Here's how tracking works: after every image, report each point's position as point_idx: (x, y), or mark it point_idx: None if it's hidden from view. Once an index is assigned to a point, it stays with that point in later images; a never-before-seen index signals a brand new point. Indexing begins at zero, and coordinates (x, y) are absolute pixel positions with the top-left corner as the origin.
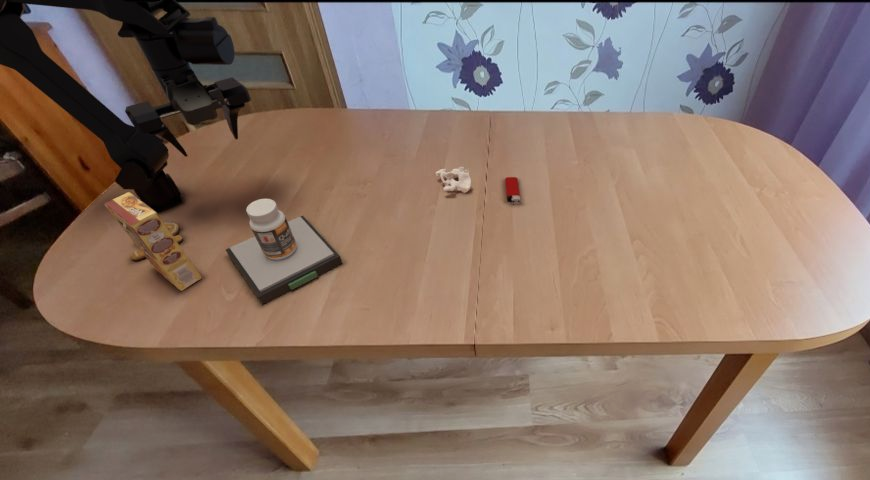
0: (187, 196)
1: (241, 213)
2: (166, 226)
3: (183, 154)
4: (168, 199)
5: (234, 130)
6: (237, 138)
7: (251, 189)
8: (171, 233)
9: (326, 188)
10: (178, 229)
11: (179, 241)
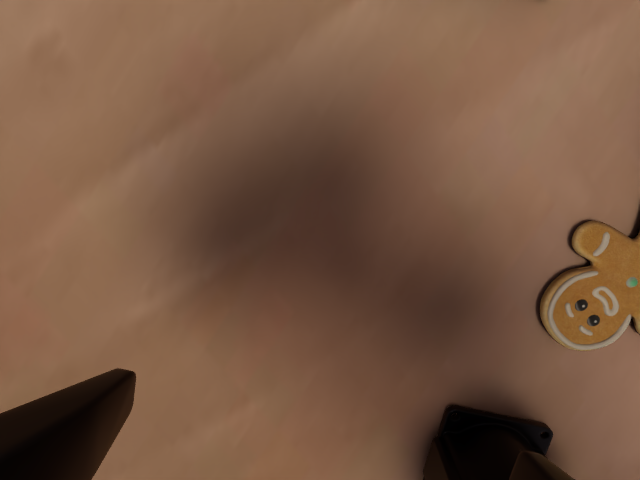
0: (418, 423)
1: (363, 200)
2: (571, 322)
3: (561, 471)
4: (487, 436)
5: (57, 413)
6: (118, 370)
7: (259, 294)
8: (589, 272)
9: (58, 69)
10: (554, 281)
11: (593, 221)
